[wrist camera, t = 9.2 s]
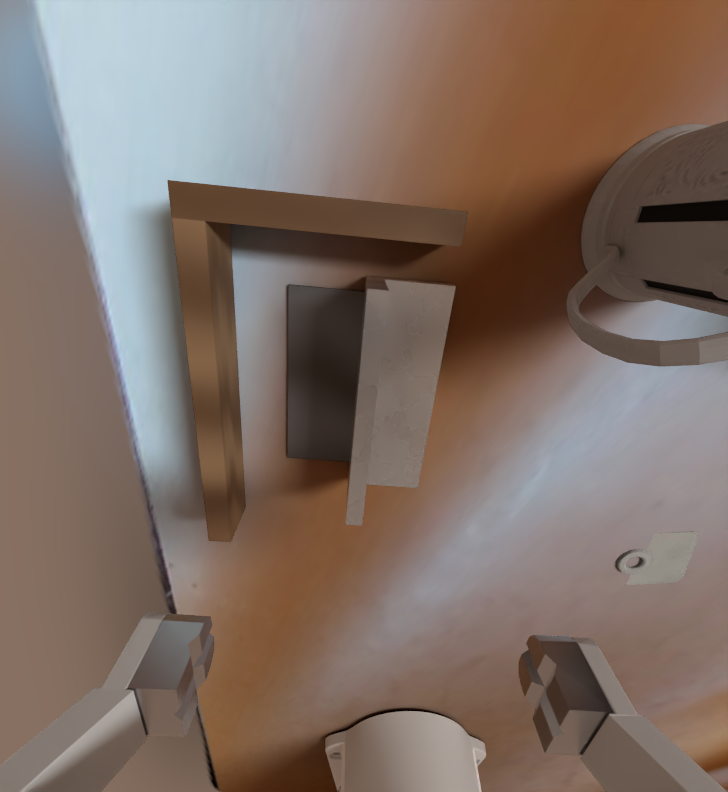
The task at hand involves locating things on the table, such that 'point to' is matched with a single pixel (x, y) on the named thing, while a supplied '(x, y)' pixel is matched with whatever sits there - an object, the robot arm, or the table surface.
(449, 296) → the angle bracket
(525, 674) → the robot arm
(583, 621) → the table surface
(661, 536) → the grey piece
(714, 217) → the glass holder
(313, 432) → the brown wooden l-shaped piece
